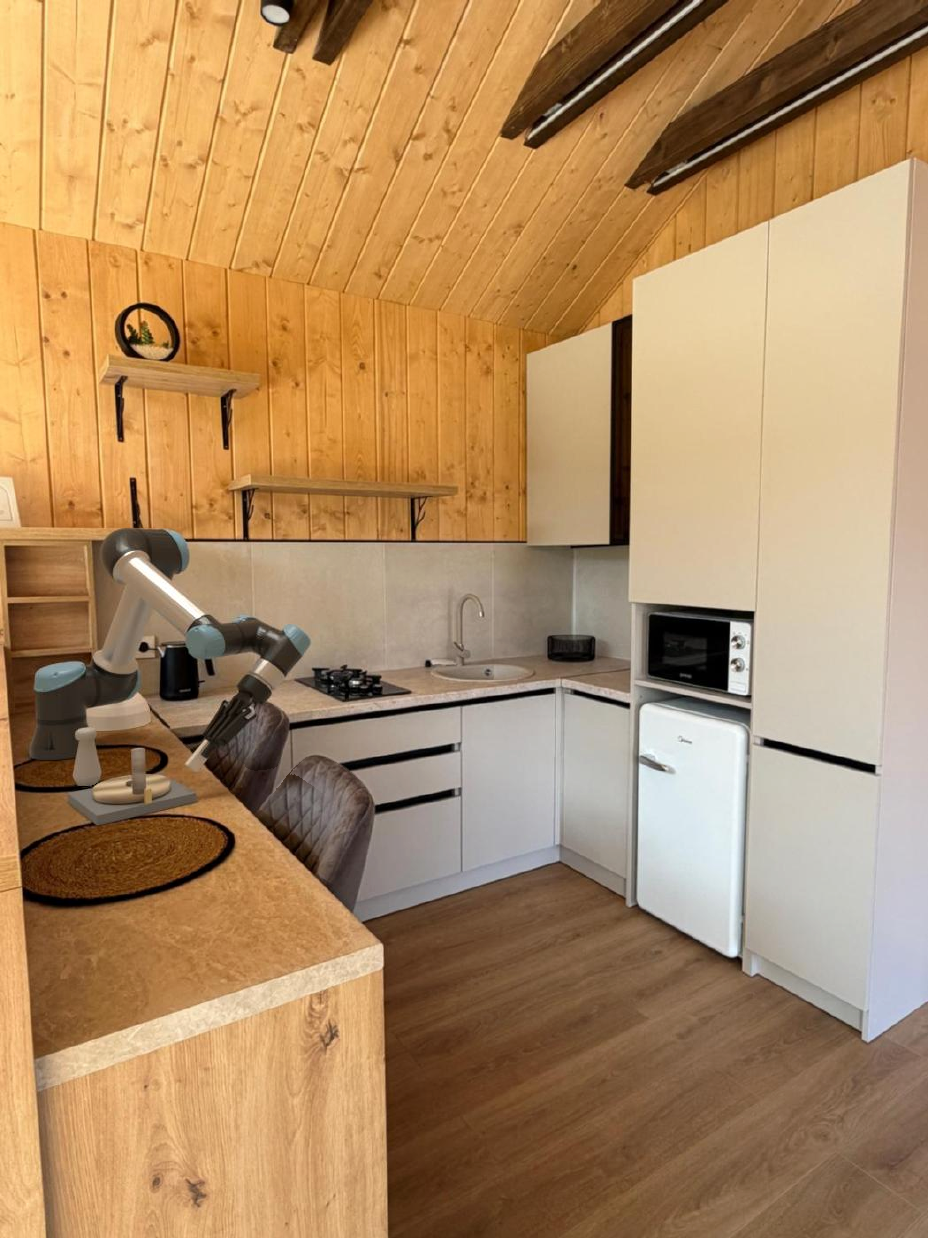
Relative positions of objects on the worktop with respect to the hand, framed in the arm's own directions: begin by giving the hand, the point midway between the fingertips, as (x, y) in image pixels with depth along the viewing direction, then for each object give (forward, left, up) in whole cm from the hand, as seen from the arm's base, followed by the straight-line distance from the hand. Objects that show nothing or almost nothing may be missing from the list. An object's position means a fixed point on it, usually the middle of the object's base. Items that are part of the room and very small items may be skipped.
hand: (190, 768), depth 157 cm
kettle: (-82, +13, -7) cm, 83 cm away
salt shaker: (-25, -13, -7) cm, 29 cm away
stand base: (-6, -10, -7) cm, 14 cm away
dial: (-6, -10, -4) cm, 13 cm away
